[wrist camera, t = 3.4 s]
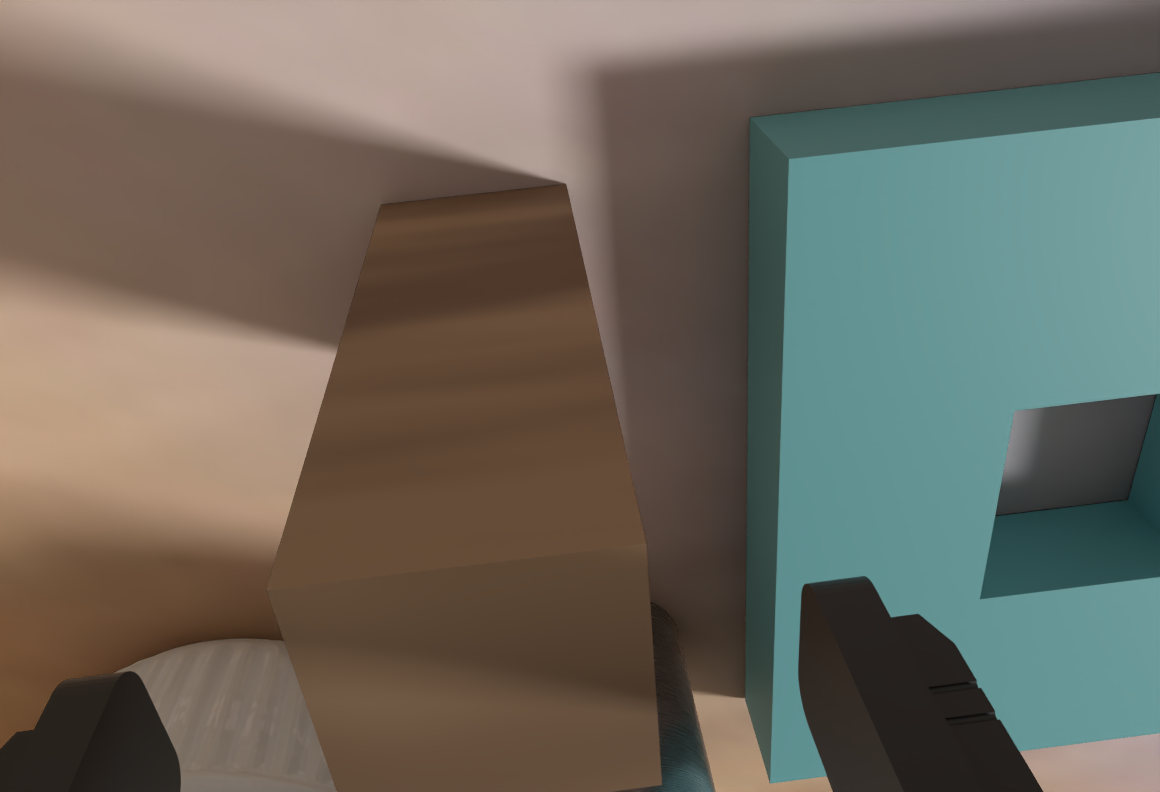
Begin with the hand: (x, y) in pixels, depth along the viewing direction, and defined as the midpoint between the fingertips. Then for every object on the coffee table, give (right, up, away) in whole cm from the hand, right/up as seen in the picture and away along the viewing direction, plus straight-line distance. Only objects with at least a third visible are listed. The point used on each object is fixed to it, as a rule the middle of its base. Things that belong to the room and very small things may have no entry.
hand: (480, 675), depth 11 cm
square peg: (-1, +6, +10) cm, 12 cm away
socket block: (+13, +3, +13) cm, 19 cm away
